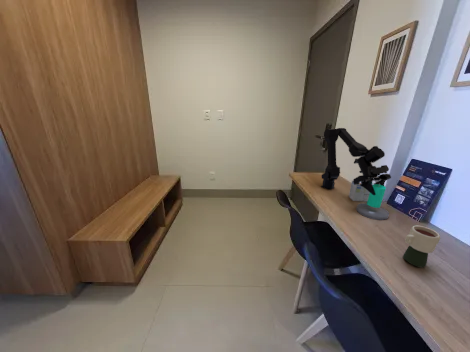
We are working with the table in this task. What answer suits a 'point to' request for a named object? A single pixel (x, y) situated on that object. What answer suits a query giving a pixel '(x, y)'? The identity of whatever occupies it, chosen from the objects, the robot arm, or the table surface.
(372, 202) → the candle
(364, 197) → the light bulb box
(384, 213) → the charcoal plinth
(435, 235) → the character mug
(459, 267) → the table surface
